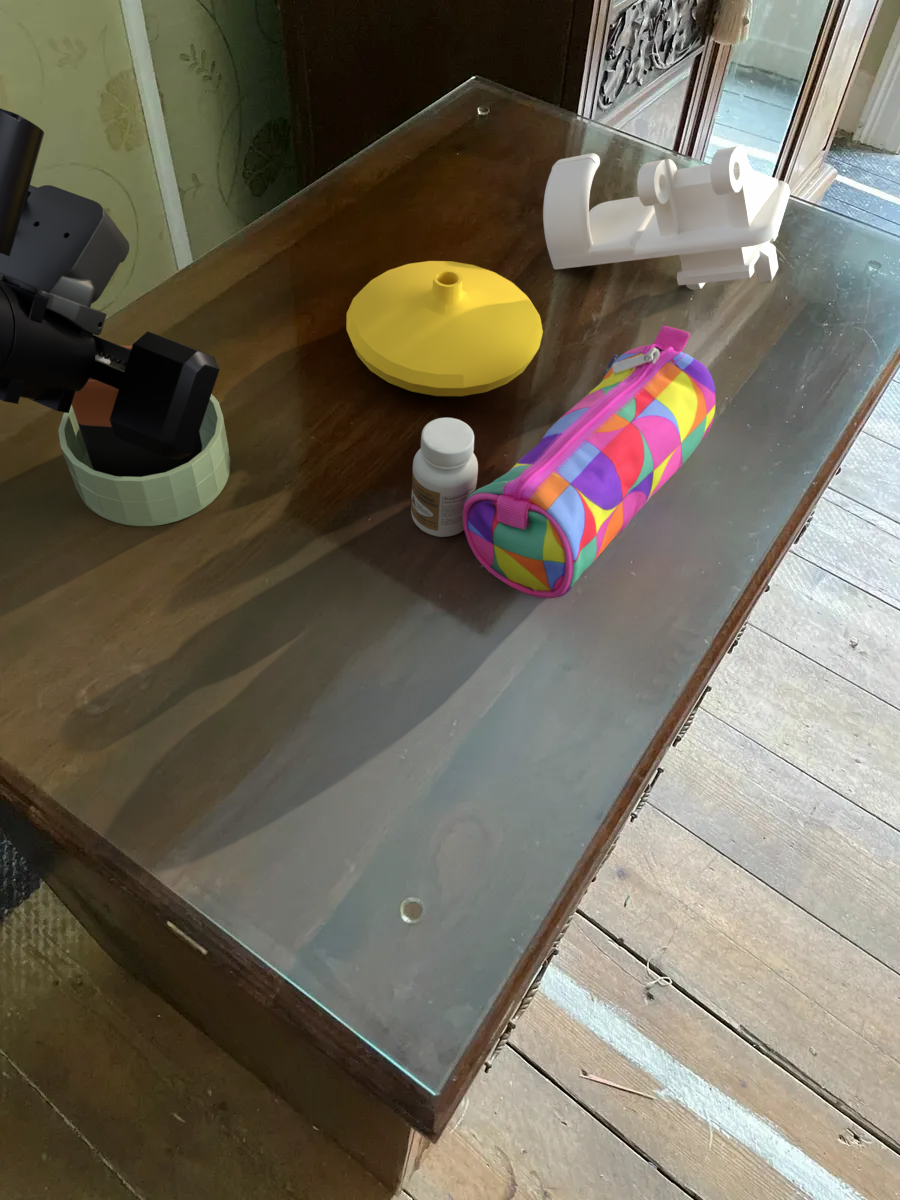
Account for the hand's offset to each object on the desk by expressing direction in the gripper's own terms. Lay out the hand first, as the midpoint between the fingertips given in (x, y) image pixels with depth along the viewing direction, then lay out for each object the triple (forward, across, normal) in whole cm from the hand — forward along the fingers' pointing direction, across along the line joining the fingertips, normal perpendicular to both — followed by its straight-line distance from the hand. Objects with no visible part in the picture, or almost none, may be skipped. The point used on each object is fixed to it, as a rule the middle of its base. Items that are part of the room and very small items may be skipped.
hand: (145, 377), depth 63 cm
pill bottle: (+9, -20, +2) cm, 22 cm away
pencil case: (+13, -29, -2) cm, 32 cm away
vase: (+20, -12, -9) cm, 25 cm away
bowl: (+4, 0, +6) cm, 8 cm away
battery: (+4, 0, +6) cm, 7 cm away
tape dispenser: (+34, -23, -24) cm, 48 cm away
